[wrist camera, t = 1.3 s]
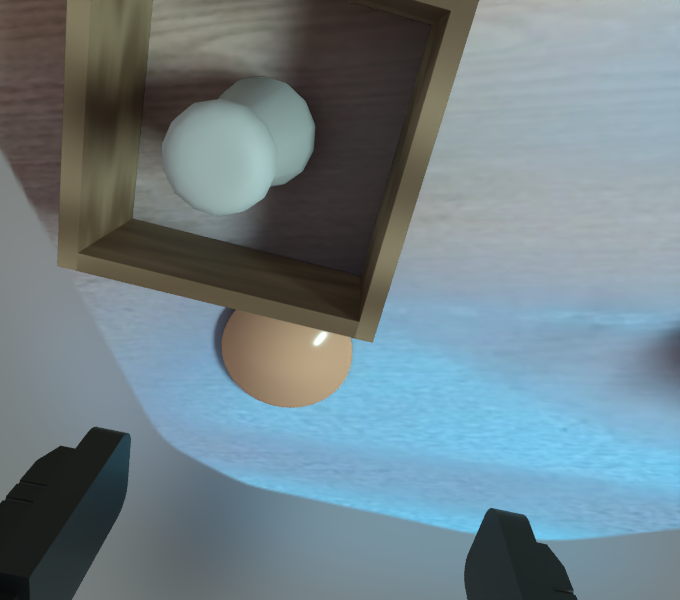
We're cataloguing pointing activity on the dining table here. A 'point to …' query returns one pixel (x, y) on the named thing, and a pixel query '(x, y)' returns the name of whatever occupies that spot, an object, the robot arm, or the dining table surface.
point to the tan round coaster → (284, 359)
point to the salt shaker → (238, 145)
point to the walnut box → (205, 253)
